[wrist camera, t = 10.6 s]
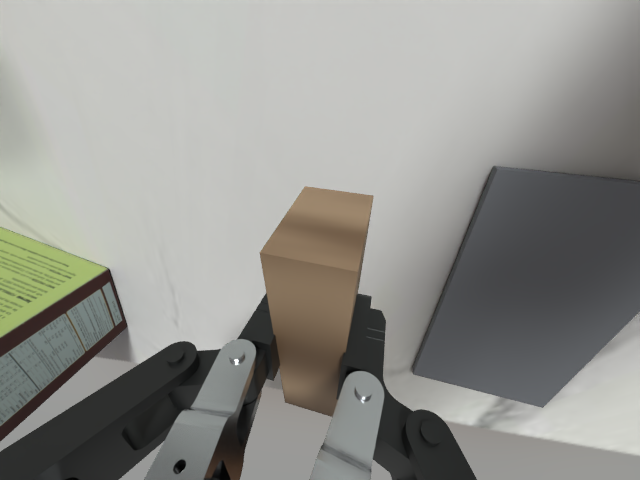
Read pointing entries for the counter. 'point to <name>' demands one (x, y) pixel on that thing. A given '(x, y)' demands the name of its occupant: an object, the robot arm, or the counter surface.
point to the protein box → (48, 322)
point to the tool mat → (536, 284)
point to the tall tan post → (315, 290)
